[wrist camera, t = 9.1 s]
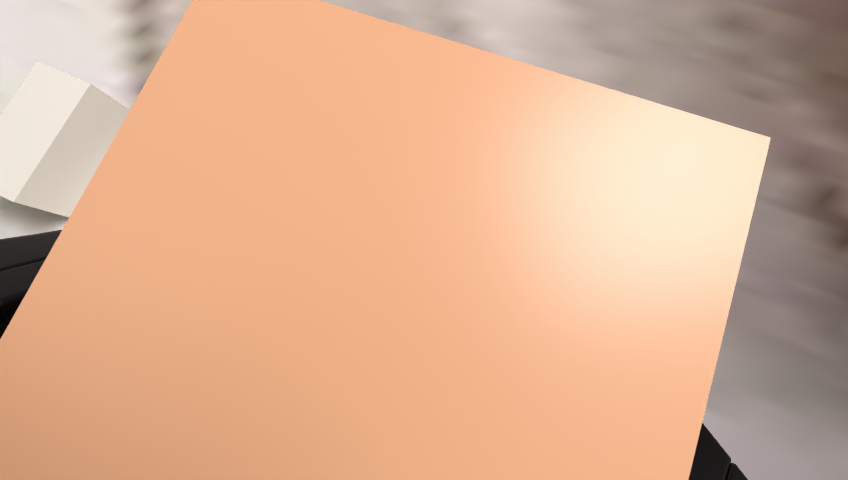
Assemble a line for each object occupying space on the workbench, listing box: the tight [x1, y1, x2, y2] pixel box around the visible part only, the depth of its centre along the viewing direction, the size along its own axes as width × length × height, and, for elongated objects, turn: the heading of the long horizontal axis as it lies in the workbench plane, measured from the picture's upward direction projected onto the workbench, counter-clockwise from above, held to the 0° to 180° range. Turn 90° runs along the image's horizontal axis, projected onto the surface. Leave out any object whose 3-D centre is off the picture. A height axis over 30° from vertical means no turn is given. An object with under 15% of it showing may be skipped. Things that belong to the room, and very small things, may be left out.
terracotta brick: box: [0, 0, 771, 480], centre depth 9 cm, size 5×5×13 cm
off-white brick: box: [0, 61, 130, 217], centre depth 19 cm, size 6×3×3 cm, turn 156°
